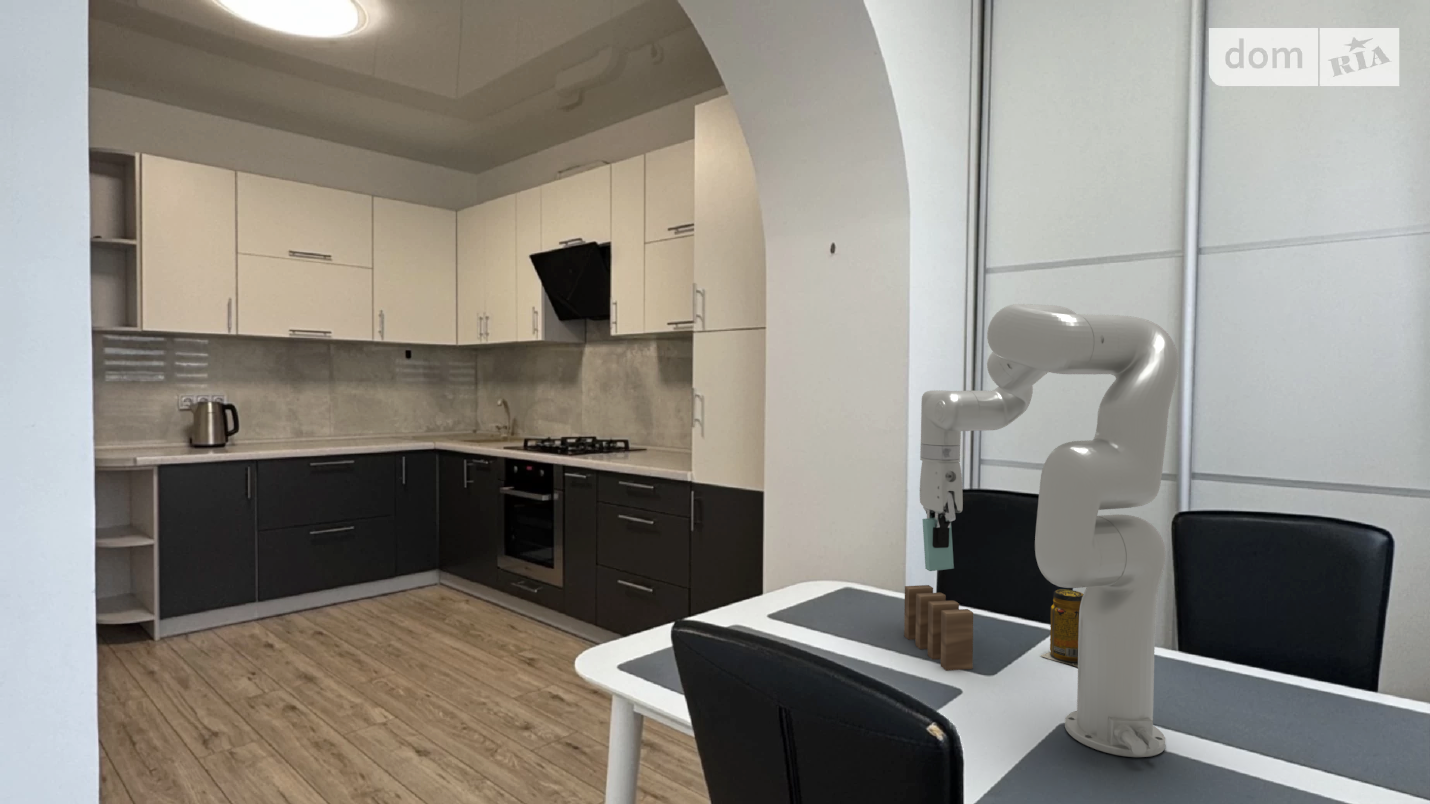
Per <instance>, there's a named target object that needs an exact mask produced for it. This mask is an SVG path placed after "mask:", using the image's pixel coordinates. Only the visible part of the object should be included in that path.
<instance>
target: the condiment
mask: <svg viewBox="0 0 1430 804" xmlns="http://www.w3.org/2000/svg"><path fill="white" fill-rule="evenodd" d="M1083 594H1084V592H1083V593H1082V592H1080V591H1078V590H1073V589H1063V588H1062V589H1057V590H1054V591H1053V599H1052V601H1053V604H1052V605H1051V606H1050V627H1049V628H1050V630H1049V632H1050V633H1049V636H1050V639H1049V642H1050V644H1049V650H1050V651H1049V652H1047V653H1046V652H1045V653H1043V654H1041V655H1040V657H1042V658H1046V659H1048V660H1053V661H1054V662H1059V663H1063V664H1067V665H1070V666H1074V667H1076V668H1078V638H1079V610H1080V604H1081V600H1082V597H1083Z"/></svg>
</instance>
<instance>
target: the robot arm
mask: <svg viewBox="0 0 1430 804" xmlns="http://www.w3.org/2000/svg"><path fill="white" fill-rule="evenodd" d="M986 336H987V337H986V338H987V343H988V346H989V348H990V349H991V351H992V352H991V353H990V355H989V356H988V359H987V363H986V368H987V372H988V374H989V377H990V379H991V380H992V381H993V382H994V384H995V385H996V386H997V387H996V388H995V389H992V390H927V391H925V392H924V393H923V394H922V396H921V409H920V410H921V413H920V416H921V418H920V452H919V453H920V456H919V459H920V461H921V468H920V479H919V503H920V504H921V506H923V509H924V512H925V513H926V519H927V518H935V527H933V547H934V548H948V547H949V528H950V526H951V527H952V522H953V521H955V520H956V513H957V514H960V513H962V512H963V504H964V503H963V502H964V501H963V496H964V495H963V493H964V492H963V478H962V476H963V475H962V468H961V467H962V466H961V443H962V442H961V439H962V437H961V433H962V432H974V431H975V432H976V431H983V432H984V431H997V430H1001V429H1004V428H1005V427H1007V426H1009V425H1010V424H1012V423H1013V422H1014V421H1016V420H1017V419H1018V418H1019V417H1021V416H1022V415H1023V414H1024V413H1025V412H1026V411H1027V410H1028V408H1029V406H1030V404H1031V401H1032V397H1033V390H1034V388H1033V387H1034V385H1035V384H1036V383H1037V382H1039V381H1040V380H1041V379H1042V378H1043V377H1044V376H1045V375H1047V374H1048V373H1052V374H1059V375H1112V376H1113V377H1115V379H1114V381H1113V382H1112V383H1111V384H1110V386H1109V387H1108V389H1107V390H1106V392H1105V393H1104V396H1103V397H1102V399H1101V401H1100V404H1099V406H1098V407H1099V408H1098V411H1097V419H1096V420H1097V421H1096V428H1095V434H1094V437H1093V439H1092V440H1073V441H1069V442H1064V443H1062V444H1060V445H1058V446H1056V447H1055V448H1054V449H1053V450H1052V451H1051V452H1050V453H1049V454H1048V456H1047V458H1046V459H1045V461H1044V464H1043V466H1042V470H1041V474H1040V481H1039V490H1038V491H1039V492H1038V502H1037V511H1036V523H1035V536H1034V537H1035V538H1034V539H1035V540H1034V551H1035V552H1034V553H1035V559H1036V562H1037V566H1038V568H1039V571H1040V572H1041V574H1042V575H1043V577H1044V578H1045V579H1046V580H1047V581H1048V582H1050V584H1053V585H1055V586H1056V587H1060V588H1065V589H1078V588H1079V589H1080V588H1085V590H1084V592H1083V597H1082V600H1081V604H1080V610H1079V638H1078V667H1077V690H1076V691H1077V692H1076V693H1077V694H1076V695H1077V699H1076V701H1077V702H1076V710H1075V711H1073V712H1070V713H1068V714H1067V715H1066V716H1065V719H1064V727H1065V730H1066V732H1067V733H1068V734H1069V735H1070V736H1071V737H1072V738H1073V739H1074V740H1076V741H1078V743H1081V744H1082V745H1084V746H1085V747H1086V746H1087V747H1088V748H1089V747H1090V748H1091V749H1095V750H1097V751H1100V752H1103V753H1107V754H1110V755H1114V756H1120V757H1127V758H1128V757H1129V758H1145V757H1146V758H1147V757H1148V758H1149V757H1153V756H1157V755H1159V754H1161V753H1163V751H1165V749H1166V737H1165V735H1164V733H1163V732H1162V731H1161V730H1160V729H1159V728H1158V727H1156V726H1154V691H1155V690H1154V689H1155V688H1154V685H1155V682H1154V681H1155V650H1156V649H1155V646H1156V645H1155V643H1156V642H1155V641H1156V640H1155V639H1156V617H1157V616H1156V615H1157V605H1158V604H1157V603H1158V594H1159V589H1160V585H1161V580H1162V576H1163V572H1164V568H1165V565H1166V563H1165V562H1166V547H1165V543H1164V540H1163V537H1162V536H1161V534H1160V532H1159V531H1158V530H1157V528H1156V527H1155V526H1154V525H1153V524H1152V523H1150V522H1149V521H1147V520H1146V519H1143V518H1141V517H1139V516H1134V515H1129V514H1104V515H1102V514H1101V515H1098V513H1099V511H1100V510H1116V509H1129V508H1130V509H1131V508H1139V507H1143V506H1145V505H1149V504H1150V503H1152V502H1153V501H1154V500H1155V499H1156V497H1157V496H1158V494H1159V492H1160V487H1161V483H1162V476H1163V470H1164V468H1163V467H1164V458H1165V452H1166V449H1165V448H1166V441H1167V433H1168V432H1167V431H1168V422H1169V421H1168V419H1169V411H1170V406H1171V401H1172V397H1173V393H1174V390H1175V388H1176V387H1175V386H1176V381H1177V376H1178V372H1179V356H1178V351H1177V348H1176V344H1175V342H1174V341H1173V339H1172V338H1171V336H1170V335H1169V333H1168V331H1166V330H1165V329H1163V328H1162V327H1161V326H1160V325H1158V324H1157V323H1155V322H1154V321H1150V320H1148V319H1145V318H1142V317H1137V316H1129V315H1119V314H1117V315H1116V314H1089V313H1087V314H1085V313H1082V314H1081V313H1077V312H1075V311H1073V310H1072V309H1070V308H1067V307H1064V306H1061V305H1053V304H1031V303H1027V304H1025V303H1013V304H1009V305H1006V306H1004V307H1002V308H1001V309H1000V310H998V311H997V312H996V313H995V314H994V316H993V317H992V318H991V320H990V322H989V325H988V327H987V335H986ZM940 517H941V518H940Z"/></svg>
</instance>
